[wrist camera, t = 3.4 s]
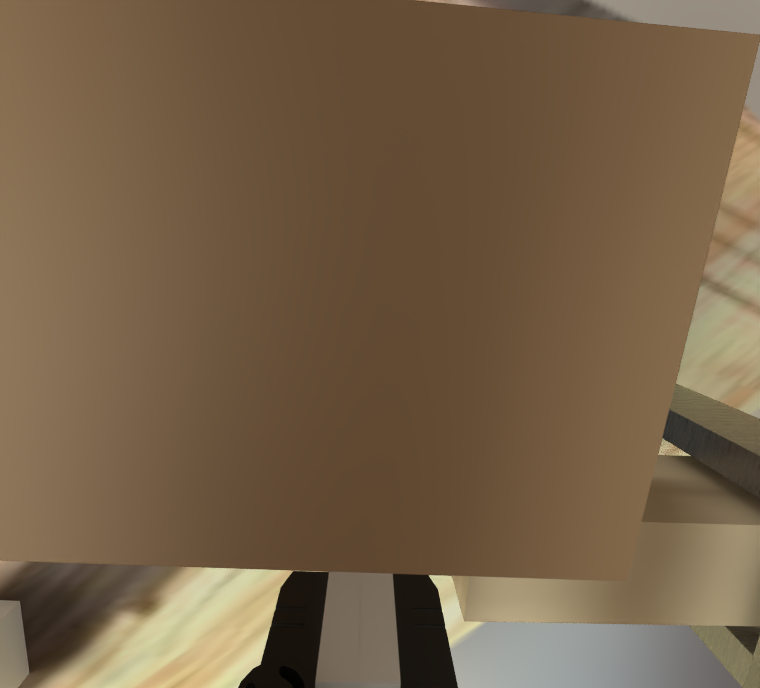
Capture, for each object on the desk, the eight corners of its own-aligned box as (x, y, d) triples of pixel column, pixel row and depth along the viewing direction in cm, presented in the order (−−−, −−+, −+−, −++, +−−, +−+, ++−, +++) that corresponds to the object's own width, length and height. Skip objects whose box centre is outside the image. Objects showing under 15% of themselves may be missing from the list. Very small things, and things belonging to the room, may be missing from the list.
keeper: (493, 461, 24) (658, 733, 11) (507, 353, 23) (722, 506, 9) (595, 465, 25) (888, 735, 11) (616, 358, 23) (987, 514, 9)
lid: (121, 506, 17) (-510, 1154, 5) (90, 144, 13) (-2041, -690, 2) (541, 523, 17) (919, 1111, 5) (602, 185, 14) (1786, -157, 2)
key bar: (439, 528, 16) (464, 621, 12) (448, 447, 15) (476, 517, 11) (684, 535, 16) (787, 626, 12) (705, 456, 15) (822, 527, 11)
